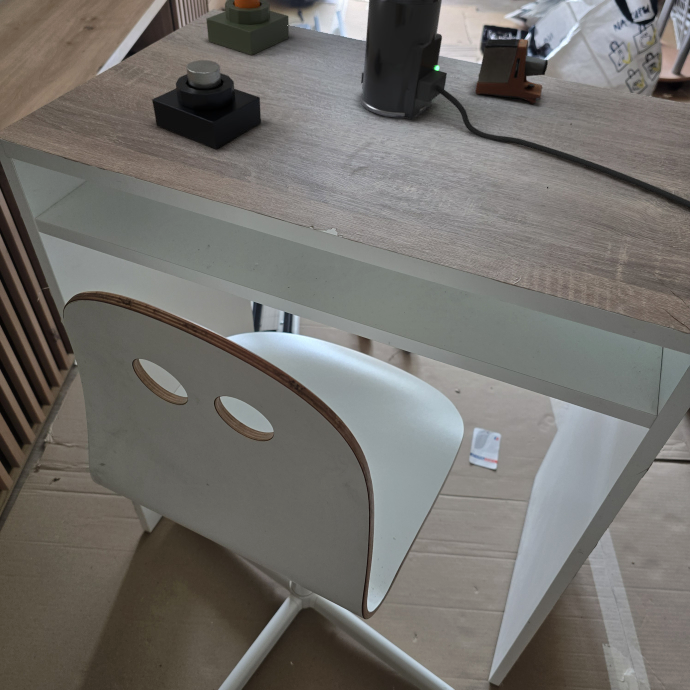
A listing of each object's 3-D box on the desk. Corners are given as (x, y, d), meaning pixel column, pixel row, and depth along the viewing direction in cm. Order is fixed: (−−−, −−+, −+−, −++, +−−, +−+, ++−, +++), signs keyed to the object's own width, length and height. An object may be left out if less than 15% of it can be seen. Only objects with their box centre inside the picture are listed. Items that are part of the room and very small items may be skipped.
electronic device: (538, 105, 88) (553, 52, 83) (473, 95, 90) (484, 41, 84) (540, 94, 91) (555, 41, 86) (477, 84, 93) (487, 31, 87)
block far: (247, 25, 105) (244, -10, 101) (288, 38, 102) (288, 2, 98) (208, 41, 99) (204, 4, 95) (251, 55, 96) (249, 17, 92)
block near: (261, 123, 80) (259, 81, 76) (216, 149, 74) (211, 106, 70) (203, 102, 83) (198, 61, 79) (156, 125, 78) (149, 83, 74)
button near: (228, 84, 76) (226, 65, 74) (206, 95, 73) (204, 75, 71) (203, 76, 77) (201, 57, 75) (182, 86, 74) (179, 67, 73)
